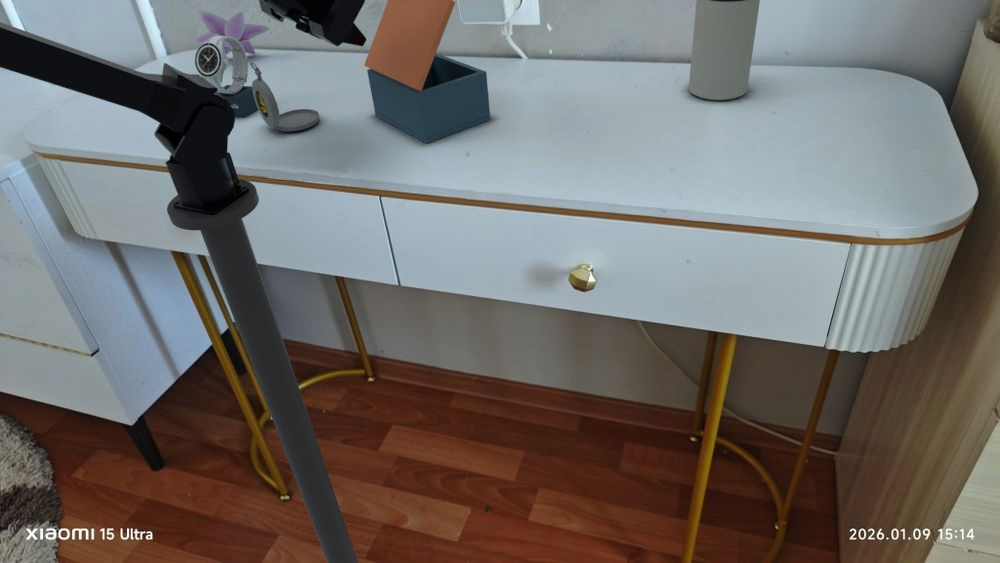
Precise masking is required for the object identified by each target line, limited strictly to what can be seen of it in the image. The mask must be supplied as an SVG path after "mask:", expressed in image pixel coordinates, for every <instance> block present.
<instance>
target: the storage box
mask: <svg viewBox="0 0 1000 563" xmlns="http://www.w3.org/2000/svg"><path fill="white" fill-rule="evenodd" d="M366 72H367V78H368V82H369V88H370V93H371V98H372V99H371V100H372V104H373V109H374V115H375V117H376V118H378V119H380V120H381V121H384V122H386V123H387V124H389V125H390V126H393V127H394V128H397V129H399V130H400V131H401V132H404V133H406V134H408V135H410V136H411V137H413V138H416V139H417V140H418V141H421V142H422V143H424V144H429V143H432V142H433V143H434V142H435V141H438V140H440V139H443V138H446V137H449V136H452V135H454V134H457V133H459V132H463V131H464V130H467V129H470V128H472V127H475V126H478V125H480V124H483V123H486V122H489V121H491V111H490V97H489V88H488V87H489V85H488V74H487V71H486V70H483V69H480V68H478V67H474V66H473V65H469V64H467V63H465V62H461V61H458V60H456V59H453V58H450V57H448V56H445V55H442V54H440V53H437V52H436V54H435V57H434V59H433V62H432V64H431V67H430V70H429V72H428V75H427V77H426V80H425V82H424V85H423V88H422V90H421V91H419V90H417V89H415V88H412V87H410V86H408V85H406V84H404V83H401V82H399V81H397V80H395V79H392V78H390V77H388V76H386V75H384V74H381V73H379V72H377V71H375V70H372V69H370V68H368V69H367V70H366Z"/></svg>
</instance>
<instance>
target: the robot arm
mask: <svg viewBox="0 0 1000 563" xmlns="http://www.w3.org/2000/svg"><path fill="white" fill-rule="evenodd" d="M258 2H259V3H258V4H259V7H260V11H261V12H263V13H264V14H266V15H267V16H268V17H270V18H272V19H273V20H276V21H277V22H279V23H283V22H284V21H285V19H286V20H289V21H291V22H294V23H295V29H296V30H298V31H300V32H303V33H305V34H309V36H312V37H314V38H316V39H319V40H323V41H324V42H326V43H328V44H330V45H333V46H335V47H339V46H341V45H342V44H347V45H352V46H357V47H363V46H365V44H366V42H367V37H366V36H365V35H364V33H362V31H361V30H360V28H359V27H358V26H357V24H356V23H355V21H356V19H357V17H358V16H359V13H361V10H362V9H363V6H364V4H365V2H366V0H258ZM0 68H1V69H3V70H7V71H10V72H14V73H17V74H20V75H23V76H26V77H29V78H33V79H36V80H39V81H42V82H44V83H47V84H51V85H54V86H58V87H61V88H64V89H67V90H69V91H70V90H71V91H73V92H76V93H80V94H83V95H86V96H89V97H92V98H95V99H98V100H100V101H101V100H102V101H105V102H108V103H110V104H115V105H117V106H120V107H124V108H127V109H130V110H134V111H136V112H139V113H141V114H143V115H145V116H147V117H148V118H150V119H152V120H154V121H156V122H157V123H159V124H158V126H157V128H156V129H155V131H154V133H153V135H154V137H155V138H156V139H157V141H158V142H159V143H160V144H161V145H162V146H163V147H164V149H166V151H168V152H169V153H170V155H169V159H168V160H166V161H165V165H166V168H167V170H168V173H169V176H170V179H171V180H172V184H173V186H174V189H175V191H176V194H177V195H178V196H179V200H178V201H176V202H174V203H173V207H174V208H176V209H181V210H186V211H191V212H196V213H201V214H206V215H215V214H217V213H218V212H220V211H221V210H223V209H224V208H226V207H227V206H229V205H230V204H231V203H233V202H234V201H236V200H237V199H239V198H240V197H242V196H243V195H244V194H246V193H247V192H249V188H248V187H247V186H241V185H238V184H239V179H240V178H239V176H238V173H237V169H236V167H235V164H234V161H233V157H232V155H231V153H230V152H228V143H229V136H230V135H231V133H232V132H233V129H234V127H235V123H236V117H235V115H234V111H233V109H232V107H231V105H230V103H229V102H228V101H227V100H226V99H225V98H223V97H222V96H221V95H219V94H218V93H217V91H218V89H217V88H216V87H215V86H213V85H212V84H211V83H209V82H208V81H206V80H205V79H204V78H202V77H201V75H200V74H199V73H198V74H193V73H192V74H191V73H186V72H184V71H181V70H179V69H177V68H176V67H174V66H173V65H170V64H168V63H166V62H164V63H163V67H162V74H160V73H159V74H158V73H147V72H141V71H139V70H136V69H133V68H130V67H128V66H124V65H122V64H119V63H116V62H114V61H110V60H107V59H106V58H105V59H104V58H102V57H99V56H96V55H94V54H90V53H88V52H85V51H82V50H80V49H77V48H73V47H71V46H68V45H65V44H62V43H59V42H57V41H54V40H52V39H49V38H46V37H43V36H41V35H37V34H35V33H33V32H29V31H26V30H23V29H20V28H17V27H15V26H12V25H10V24H6V23H3V22H2V21H0Z"/></svg>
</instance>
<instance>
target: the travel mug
mask: <svg viewBox="0 0 1000 563" xmlns="http://www.w3.org/2000/svg"><path fill="white" fill-rule="evenodd" d="M695 1H696V3H695V13H694V24H693V35H692V37H693V38H692V44H691V45H692V47H691V58H690V67H689V68H690V70H689V81H688V91H689V92H690V93H691V94H692V95H694V96H696V97H698V98H700V99H703V100H709V101H726V100H727V101H729V100H734V99H737V98H739V97H741V96H744V95H745V94H746V93H747V92H748V86H749V81H750V72H751V66H752V59H753V58H752V57H753V51H754V44H755V39H756V32H757V31H756V30H757V23H758V16H759V10H760V3H761V2H760V1H761V0H695Z"/></svg>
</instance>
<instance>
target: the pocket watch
mask: <svg viewBox="0 0 1000 563" xmlns="http://www.w3.org/2000/svg"><path fill="white" fill-rule="evenodd" d="M249 62H250V63H249V64H250V66H251V68H252V69H253V71H254V74H255V75H256V77H257V78H255V79H254V80H253V81H252V83H251V86H252V91H253V95H254V99H255V102H256V105H257V108H258V110H257V111H258V112H259V114H260V116H261V118H262V119H263V121H264V122H265V124H266V125H267V127H270V128H274V129H275V130H277V131H279V132H297V131H302V130H305V129H309V128H310V127H313V126H314V125H316V124H317V123H318V122H319V120H320V113H319V112H318V111H317V110H315V109H310V108H299V109H293V110H289V111H285V112H283V113H280V110H279V106H278V103H277V101H276V98H275V95H274V93H273V91H272V89H271V87H270V86H269V84H267V83H266V81H265V80H264V79H263V77H262V71H261V70H260V68H259V67H258V66H257V64H255V63H254V62H253V61H249Z"/></svg>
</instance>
